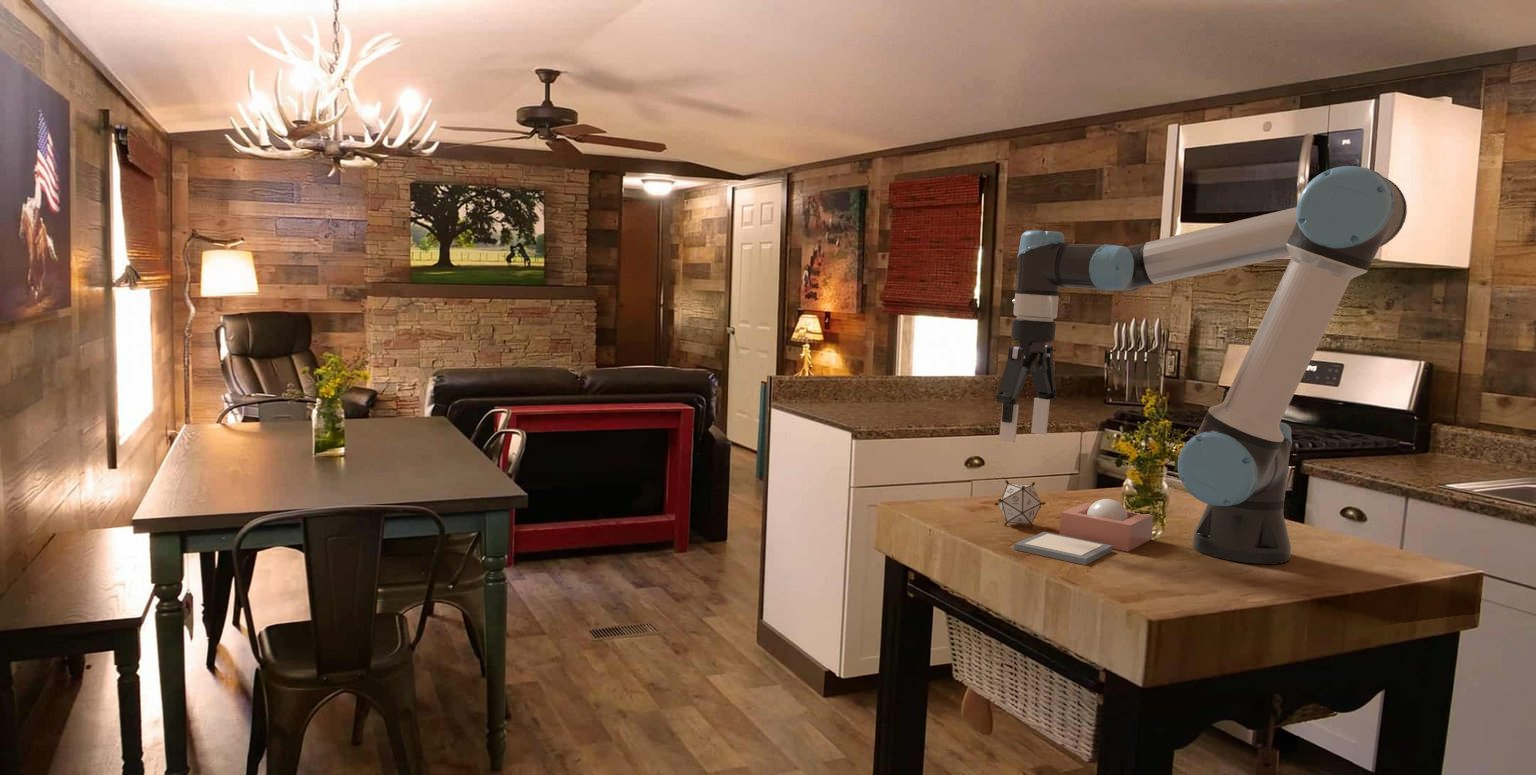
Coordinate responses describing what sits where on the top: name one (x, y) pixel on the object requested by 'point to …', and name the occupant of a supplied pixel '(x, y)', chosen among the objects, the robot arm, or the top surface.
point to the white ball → (1108, 510)
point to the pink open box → (1107, 528)
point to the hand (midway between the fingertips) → (1023, 437)
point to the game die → (1019, 503)
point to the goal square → (1063, 548)
